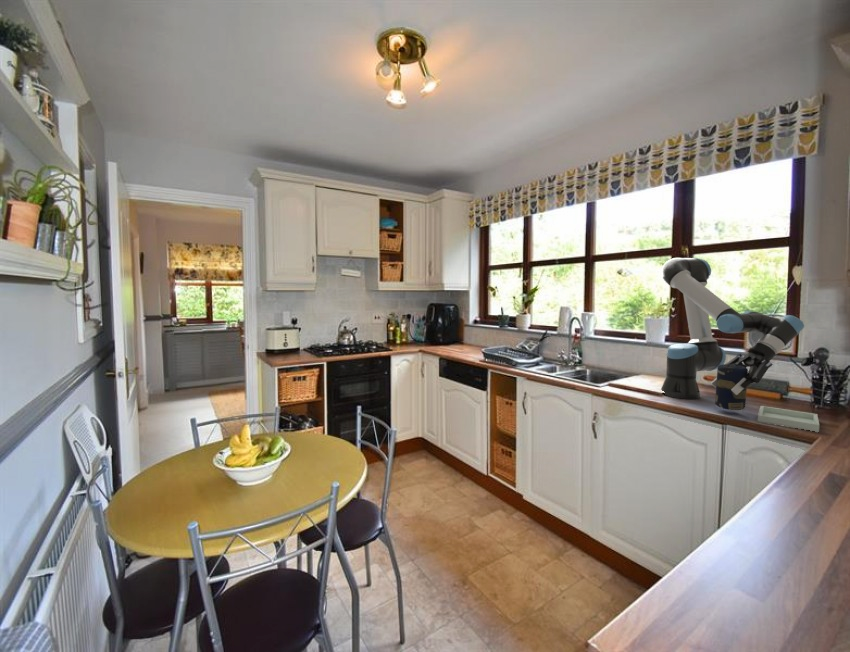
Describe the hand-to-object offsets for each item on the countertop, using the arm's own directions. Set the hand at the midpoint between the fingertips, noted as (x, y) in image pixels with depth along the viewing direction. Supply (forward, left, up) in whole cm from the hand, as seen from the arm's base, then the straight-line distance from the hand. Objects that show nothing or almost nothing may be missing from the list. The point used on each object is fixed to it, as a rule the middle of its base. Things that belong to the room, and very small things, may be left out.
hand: (723, 388), depth 155 cm
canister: (0, +3, -8) cm, 9 cm away
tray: (+11, +16, -10) cm, 22 cm away
